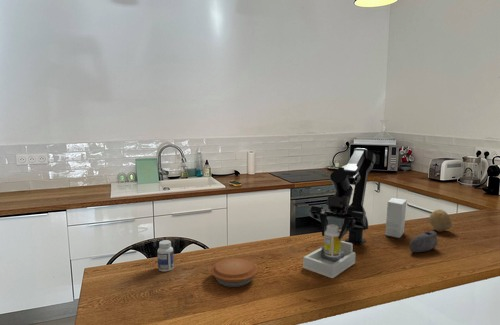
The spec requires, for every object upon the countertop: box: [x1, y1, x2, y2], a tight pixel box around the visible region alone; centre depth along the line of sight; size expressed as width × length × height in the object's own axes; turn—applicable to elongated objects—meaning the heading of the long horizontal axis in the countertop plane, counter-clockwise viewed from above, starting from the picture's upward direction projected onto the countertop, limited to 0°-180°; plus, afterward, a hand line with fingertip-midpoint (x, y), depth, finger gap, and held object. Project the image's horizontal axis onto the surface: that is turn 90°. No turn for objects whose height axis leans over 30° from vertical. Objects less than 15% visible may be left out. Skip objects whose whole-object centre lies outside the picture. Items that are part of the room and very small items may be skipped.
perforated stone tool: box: [409, 230, 438, 253], centre depth 138 cm, size 15×5×7 cm, turn 116°
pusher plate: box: [320, 245, 344, 262], centre depth 126 cm, size 1×8×4 cm, turn 47°
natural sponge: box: [428, 209, 453, 232], centre depth 160 cm, size 9×9×10 cm
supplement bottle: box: [323, 224, 342, 257], centre depth 120 cm, size 6×6×10 cm
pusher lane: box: [302, 240, 356, 279], centre depth 125 cm, size 16×12×7 cm
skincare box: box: [385, 197, 407, 239], centre depth 156 cm, size 8×7×16 cm
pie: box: [210, 257, 259, 288], centre depth 115 cm, size 16×16×5 cm
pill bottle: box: [157, 239, 175, 273], centre depth 123 cm, size 5×5×10 cm
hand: (331, 237), depth 119 cm, fingers closed on supplement bottle, 5 cm apart
